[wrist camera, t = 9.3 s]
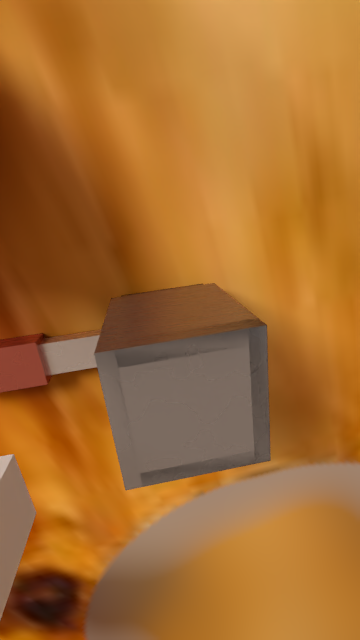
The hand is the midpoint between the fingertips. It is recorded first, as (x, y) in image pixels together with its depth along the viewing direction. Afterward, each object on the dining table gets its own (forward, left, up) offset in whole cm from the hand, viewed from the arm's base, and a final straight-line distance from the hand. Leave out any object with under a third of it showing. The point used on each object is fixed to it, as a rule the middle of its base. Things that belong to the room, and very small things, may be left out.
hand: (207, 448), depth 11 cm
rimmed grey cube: (0, 0, -12) cm, 12 cm away
